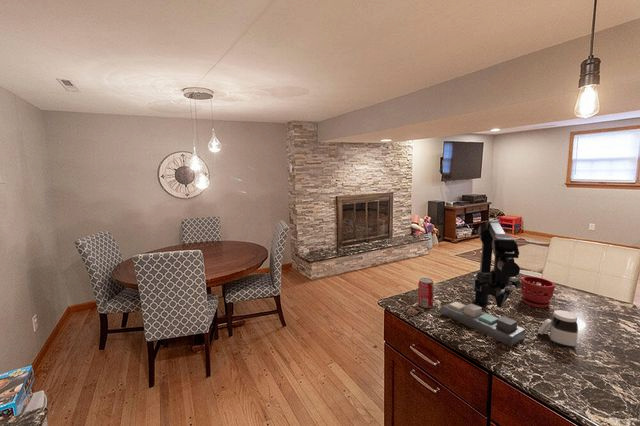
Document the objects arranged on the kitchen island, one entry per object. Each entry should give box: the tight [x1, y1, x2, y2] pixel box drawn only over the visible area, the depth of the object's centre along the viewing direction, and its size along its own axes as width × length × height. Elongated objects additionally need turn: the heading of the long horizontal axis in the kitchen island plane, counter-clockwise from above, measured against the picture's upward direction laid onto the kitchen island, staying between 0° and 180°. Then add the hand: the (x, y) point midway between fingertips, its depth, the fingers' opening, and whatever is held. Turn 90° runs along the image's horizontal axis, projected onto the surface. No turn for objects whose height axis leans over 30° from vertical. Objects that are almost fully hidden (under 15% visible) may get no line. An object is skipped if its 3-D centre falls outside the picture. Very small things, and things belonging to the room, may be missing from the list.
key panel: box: [441, 300, 526, 348], centre depth 126 cm, size 10×30×4 cm, turn 32°
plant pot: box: [520, 276, 556, 309], centre depth 145 cm, size 13×13×12 cm
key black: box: [497, 315, 518, 333], centre depth 117 cm, size 5×5×4 cm
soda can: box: [417, 277, 435, 309], centre depth 144 cm, size 7×7×13 cm
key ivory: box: [449, 301, 467, 311], centre depth 135 cm, size 5×5×4 cm
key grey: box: [464, 302, 483, 318], centre depth 128 cm, size 5×5×4 cm
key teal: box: [479, 313, 499, 325], centre depth 123 cm, size 5×5×4 cm
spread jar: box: [537, 309, 579, 349], centre depth 114 cm, size 12×11×12 cm
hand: (499, 307), depth 118 cm, fingers closed
